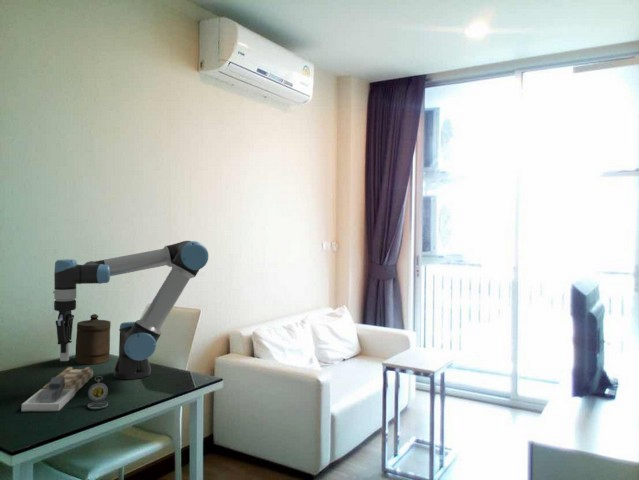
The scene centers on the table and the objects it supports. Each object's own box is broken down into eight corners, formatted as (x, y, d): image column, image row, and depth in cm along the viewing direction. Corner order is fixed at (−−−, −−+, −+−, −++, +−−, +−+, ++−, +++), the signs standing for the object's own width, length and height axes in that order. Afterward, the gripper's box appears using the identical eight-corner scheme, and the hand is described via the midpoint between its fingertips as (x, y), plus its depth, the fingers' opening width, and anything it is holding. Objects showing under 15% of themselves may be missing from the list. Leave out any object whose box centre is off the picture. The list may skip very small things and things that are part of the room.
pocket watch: (94, 411, 170) (95, 383, 170) (80, 406, 174) (81, 378, 174) (115, 405, 177) (116, 377, 177) (101, 400, 181) (102, 373, 181)
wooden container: (114, 356, 240) (115, 312, 240) (101, 365, 226) (103, 317, 225) (84, 355, 240) (85, 311, 240) (69, 364, 225) (70, 316, 225)
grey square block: (48, 397, 180) (49, 386, 180) (60, 397, 181) (60, 386, 181) (44, 401, 176) (44, 390, 176) (56, 401, 177) (56, 390, 177)
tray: (40, 395, 183) (40, 389, 183) (74, 395, 185) (74, 388, 185) (21, 411, 167) (21, 404, 167) (58, 411, 169) (59, 403, 169)
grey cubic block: (44, 390, 176) (39, 394, 172) (56, 390, 177) (51, 393, 173) (44, 401, 176) (39, 405, 172) (55, 401, 177) (51, 405, 173)
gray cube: (53, 385, 185) (52, 377, 184) (65, 385, 185) (64, 376, 184) (49, 392, 181) (48, 383, 180) (61, 392, 182) (60, 383, 180)
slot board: (65, 376, 207) (65, 366, 207) (92, 376, 209) (93, 366, 209) (42, 395, 183) (42, 384, 183) (73, 395, 185) (73, 384, 185)
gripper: (61, 297, 194) (60, 356, 195) (48, 302, 181) (47, 365, 182) (81, 297, 195) (80, 355, 196) (69, 302, 182) (68, 365, 183)
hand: (64, 360), depth 189 cm, fingers closed
